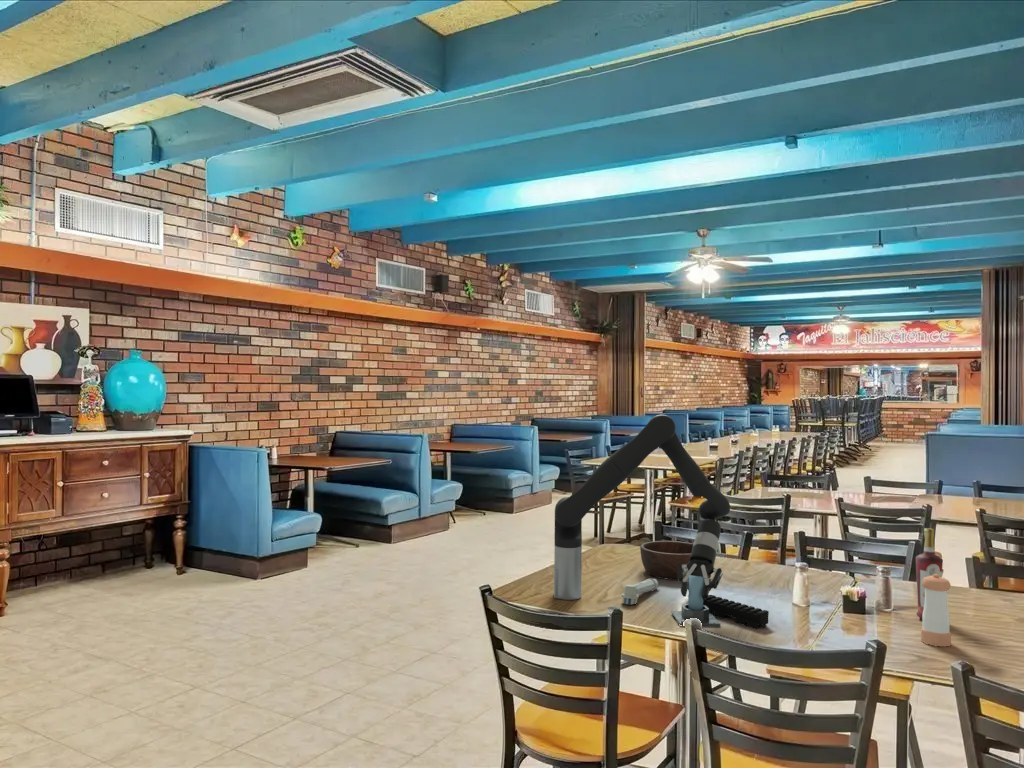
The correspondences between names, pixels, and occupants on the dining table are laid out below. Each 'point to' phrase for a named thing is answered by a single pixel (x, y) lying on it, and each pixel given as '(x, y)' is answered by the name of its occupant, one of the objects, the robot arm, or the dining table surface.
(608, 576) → the dining table surface
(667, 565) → the wooden bowl
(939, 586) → the salt shaker
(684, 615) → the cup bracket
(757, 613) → the rail mount
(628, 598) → the grey handheld tool
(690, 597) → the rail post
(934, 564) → the liquor
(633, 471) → the robot arm
